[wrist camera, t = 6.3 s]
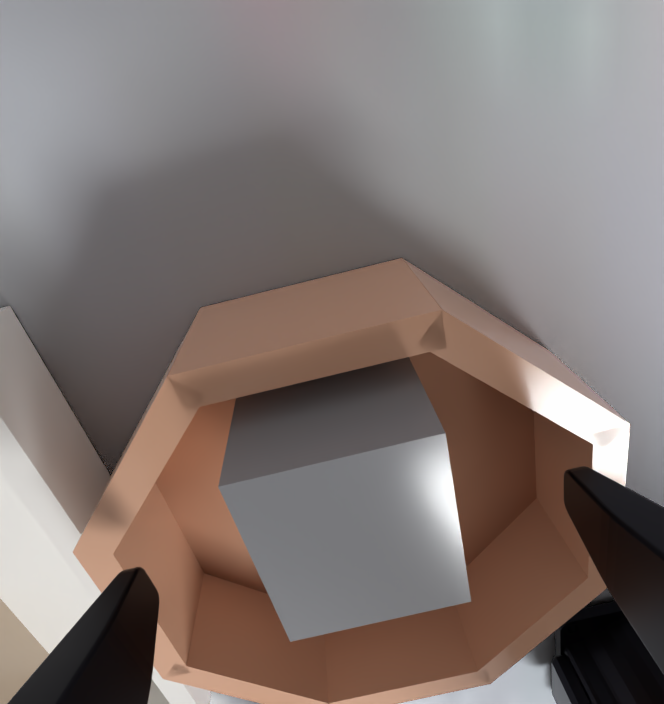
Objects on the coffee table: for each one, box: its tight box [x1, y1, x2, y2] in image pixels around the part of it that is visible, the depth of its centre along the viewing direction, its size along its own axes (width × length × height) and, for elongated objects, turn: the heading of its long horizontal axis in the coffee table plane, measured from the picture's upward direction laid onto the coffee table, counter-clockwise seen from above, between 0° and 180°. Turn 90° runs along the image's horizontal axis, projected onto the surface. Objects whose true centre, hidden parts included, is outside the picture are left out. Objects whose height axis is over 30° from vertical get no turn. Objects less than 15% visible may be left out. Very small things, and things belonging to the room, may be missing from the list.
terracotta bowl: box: [73, 258, 630, 704], centre depth 13 cm, size 13×13×4 cm
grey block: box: [218, 357, 471, 642], centre depth 11 cm, size 4×5×4 cm
